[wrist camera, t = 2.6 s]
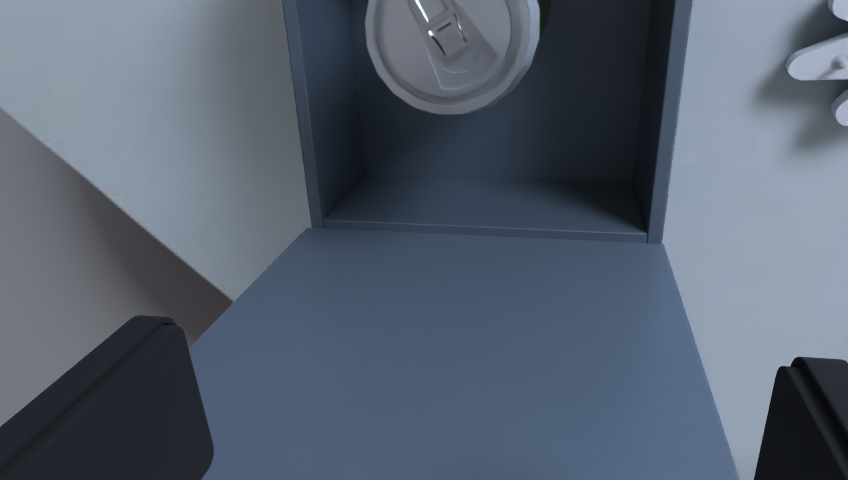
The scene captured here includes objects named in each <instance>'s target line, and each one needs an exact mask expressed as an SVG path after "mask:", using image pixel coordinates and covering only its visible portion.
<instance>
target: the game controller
mask: <svg viewBox="0 0 848 480" xmlns="http://www.w3.org/2000/svg"><path fill="white" fill-rule="evenodd" d="M828 7H829V9H830V11H831V12H832V13H833V14H835V15H836V16H837V17H839V18H841V19H844V20H846V21H848V0H829V1H828ZM786 68H787V70H788V72H789V74H790V75H791V76H792V77H793V78H795V79H798V80H834V79H848V32H847V33H844V34H841V35H838V36H835V37H833V38H830V39H827V40H824V41H822V42H819V43H816V44H814V45H811V46H808V47H805V48H803V49H800V50H798V51H796V52H794V53H793V54H791V55H790V56H789V57H788V59H787V61H786ZM831 109H832V112H833V114H834V116H835V118H836V119H837V121H838V122H839V123H840V124H842V125H844V126H848V89H847V90H846V91H844V92H843V93H842V94H841V95H840V96H838V97H837V98H836V99H835V100H834V101H833V103H832V107H831Z"/></svg>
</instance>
